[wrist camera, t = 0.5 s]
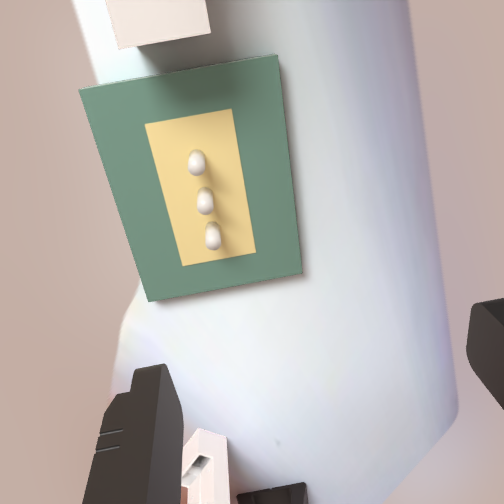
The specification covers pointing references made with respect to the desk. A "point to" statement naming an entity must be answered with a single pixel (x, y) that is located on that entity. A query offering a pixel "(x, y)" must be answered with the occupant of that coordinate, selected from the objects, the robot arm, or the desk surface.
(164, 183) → the header board
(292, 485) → the phone stand
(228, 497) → the white wedge bracket
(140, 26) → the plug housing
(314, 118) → the desk surface
